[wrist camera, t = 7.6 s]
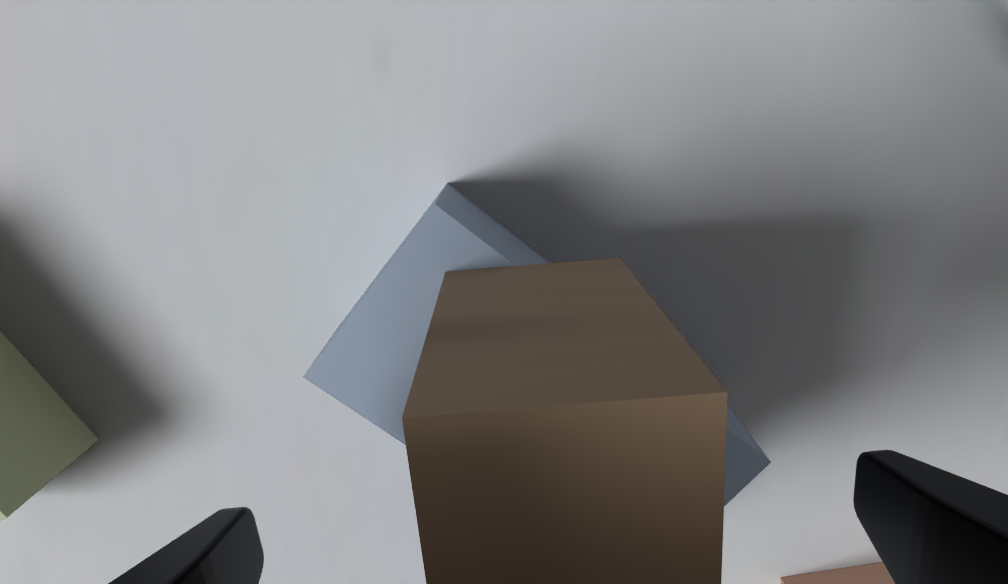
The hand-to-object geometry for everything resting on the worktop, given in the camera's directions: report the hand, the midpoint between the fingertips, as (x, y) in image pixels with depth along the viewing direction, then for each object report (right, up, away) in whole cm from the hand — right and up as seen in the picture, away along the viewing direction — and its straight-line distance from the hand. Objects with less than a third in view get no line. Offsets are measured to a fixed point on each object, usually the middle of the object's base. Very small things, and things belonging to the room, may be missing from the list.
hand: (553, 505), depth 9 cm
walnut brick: (0, +1, +2) cm, 2 cm away
